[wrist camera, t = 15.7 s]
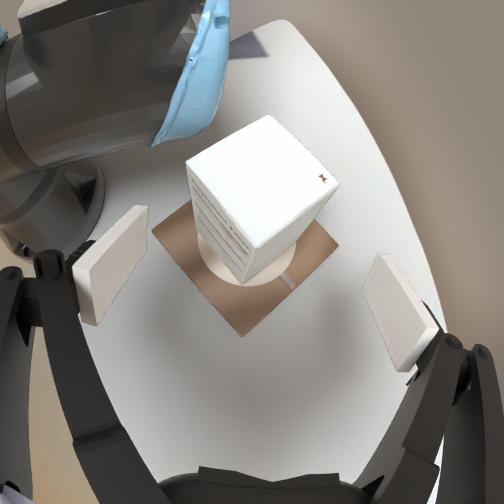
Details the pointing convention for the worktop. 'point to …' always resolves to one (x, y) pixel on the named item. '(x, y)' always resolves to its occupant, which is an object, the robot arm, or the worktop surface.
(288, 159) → the supplement box
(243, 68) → the worktop surface
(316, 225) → the dial board
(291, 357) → the worktop surface
